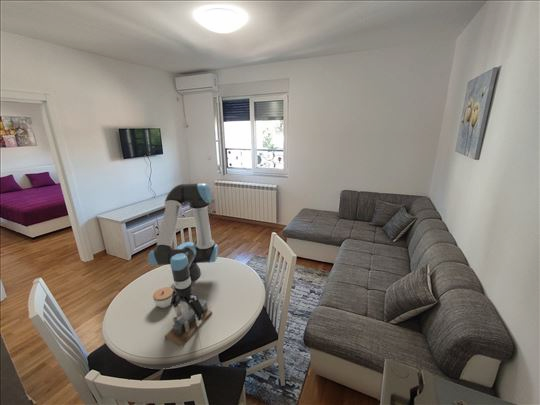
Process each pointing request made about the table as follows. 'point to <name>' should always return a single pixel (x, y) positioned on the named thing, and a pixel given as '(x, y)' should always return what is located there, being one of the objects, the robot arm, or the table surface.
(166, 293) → the lidded jar
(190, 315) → the grey notched bar
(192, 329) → the rack
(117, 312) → the table surface
